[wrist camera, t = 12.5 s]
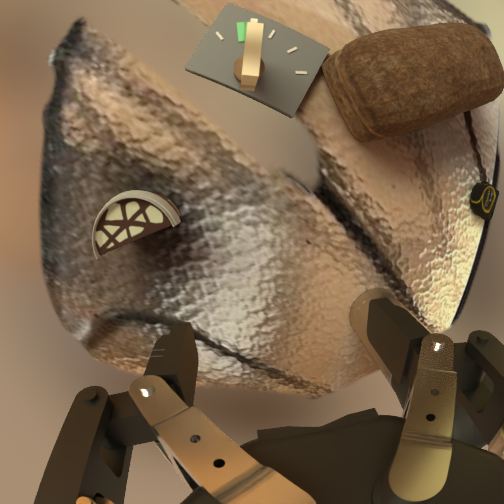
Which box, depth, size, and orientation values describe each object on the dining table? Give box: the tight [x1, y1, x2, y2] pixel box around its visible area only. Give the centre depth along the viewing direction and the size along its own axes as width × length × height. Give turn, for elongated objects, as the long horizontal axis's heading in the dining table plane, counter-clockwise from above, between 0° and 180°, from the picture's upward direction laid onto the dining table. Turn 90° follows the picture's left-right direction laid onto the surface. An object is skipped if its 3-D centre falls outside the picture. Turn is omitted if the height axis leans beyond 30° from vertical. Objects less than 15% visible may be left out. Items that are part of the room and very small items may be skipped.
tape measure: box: [470, 181, 499, 221], centre depth 43 cm, size 7×7×4 cm
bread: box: [322, 23, 504, 142], centre depth 31 cm, size 15×32×16 cm, turn 116°
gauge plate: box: [185, 3, 330, 118], centre depth 36 cm, size 13×17×2 cm
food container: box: [92, 190, 181, 259], centre depth 37 cm, size 12×6×10 cm, turn 109°
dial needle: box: [234, 18, 265, 91], centre depth 30 cm, size 12×4×10 cm, turn 175°
